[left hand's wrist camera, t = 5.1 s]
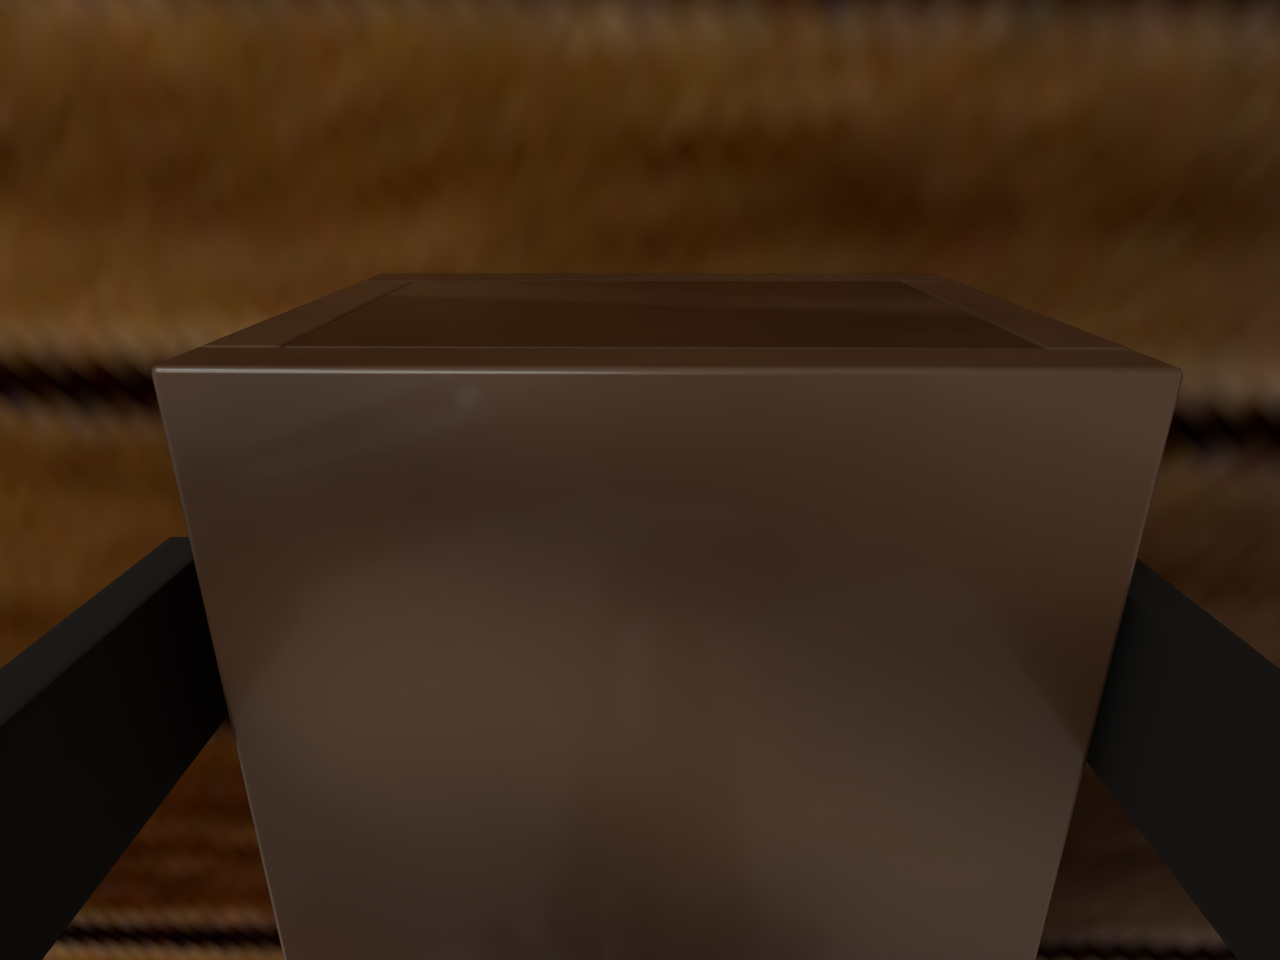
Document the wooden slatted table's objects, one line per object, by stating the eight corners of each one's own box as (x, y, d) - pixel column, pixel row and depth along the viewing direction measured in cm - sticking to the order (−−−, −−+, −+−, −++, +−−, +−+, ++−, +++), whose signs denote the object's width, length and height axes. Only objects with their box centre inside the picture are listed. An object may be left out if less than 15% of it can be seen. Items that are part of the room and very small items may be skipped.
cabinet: (847, 962, 24) (941, 1343, 16) (457, 957, 24) (366, 1332, 16) (938, 273, 16) (1188, 368, 9) (379, 272, 17) (145, 364, 9)
